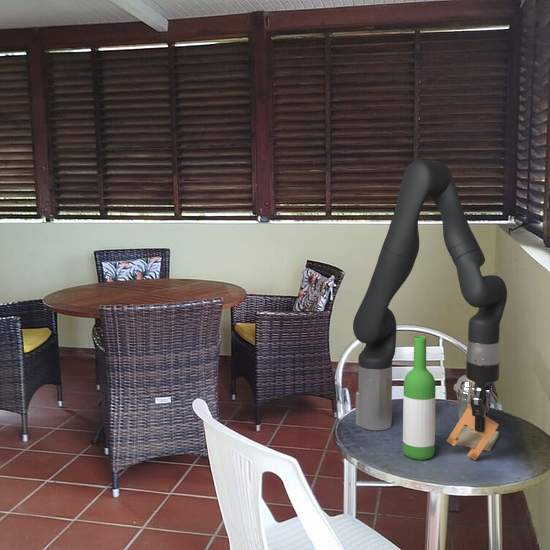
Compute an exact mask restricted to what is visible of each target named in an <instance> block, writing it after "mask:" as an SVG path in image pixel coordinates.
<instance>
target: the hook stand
mask: <svg viewBox="0 0 550 550" xmlns="http://www.w3.org/2000/svg"><path fill="white" fill-rule="evenodd" d="M466 382H470V383H472V387H474V385H475V382H474V381H472V380H469V379H468V378H467V377H466ZM472 396H473V395H472ZM499 434H500V431H497V430H495V432H494V433H493V435H492V436H491V438H490V439H489V441H488V442H487V444H486V445H485V447H484V448H483V450H482V451H488V452H491V450H492V448H493V446H494V445H495V443H496V441H497V439H498V437H499V436H500V435H499ZM482 437H483V436H482V435H480V434H479V433H477V432H476V431H474V430H473V429H471V428H470V427H468V426H466V425H464V426H463V428H462V430H461V431H460V433H459V434H458V436H457V438H459V440H458V441H457V443H456V444H455V446H458V447H459V446H460V447H466V448H470V449H472V448H474V449H475V448H476V447H477V445H478V443H479V442H480V440H481V439H482Z"/></svg>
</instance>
